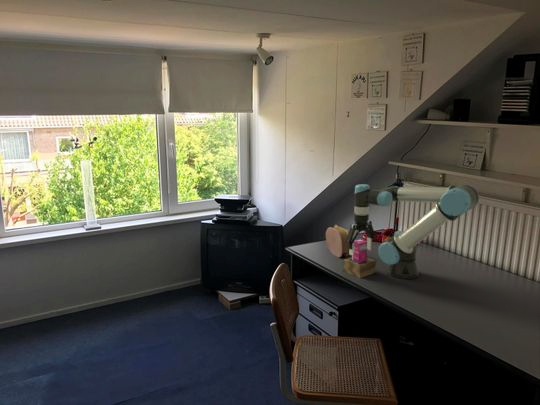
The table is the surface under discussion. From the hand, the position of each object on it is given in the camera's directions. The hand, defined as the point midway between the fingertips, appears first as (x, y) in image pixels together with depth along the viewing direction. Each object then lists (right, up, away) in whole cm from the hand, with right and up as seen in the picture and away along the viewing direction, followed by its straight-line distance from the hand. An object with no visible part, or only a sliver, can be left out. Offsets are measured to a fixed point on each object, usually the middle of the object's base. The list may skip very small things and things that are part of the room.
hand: (360, 252), depth 237 cm
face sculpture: (-8, -5, +31) cm, 32 cm away
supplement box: (0, -5, +1) cm, 6 cm away
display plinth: (0, -11, +3) cm, 11 cm away
